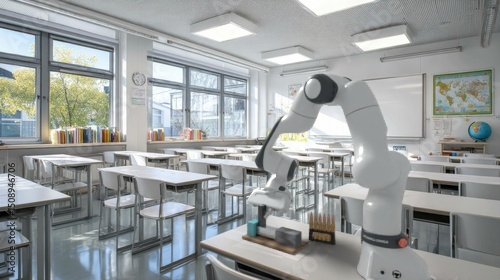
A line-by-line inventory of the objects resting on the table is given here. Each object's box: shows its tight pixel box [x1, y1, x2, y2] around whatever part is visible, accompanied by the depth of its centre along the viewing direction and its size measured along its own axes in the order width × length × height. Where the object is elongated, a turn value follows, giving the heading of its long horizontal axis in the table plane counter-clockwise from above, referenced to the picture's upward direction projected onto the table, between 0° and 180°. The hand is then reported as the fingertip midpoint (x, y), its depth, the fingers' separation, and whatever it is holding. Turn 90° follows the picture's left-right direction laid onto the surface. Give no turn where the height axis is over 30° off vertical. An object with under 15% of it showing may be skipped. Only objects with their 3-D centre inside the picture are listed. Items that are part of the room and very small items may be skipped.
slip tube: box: [256, 204, 279, 239], centre depth 122 cm, size 14×3×12 cm, turn 51°
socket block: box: [246, 217, 258, 237], centre depth 126 cm, size 4×7×6 cm, turn 141°
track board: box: [241, 226, 309, 255], centre depth 120 cm, size 24×12×6 cm, turn 50°
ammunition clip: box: [308, 211, 337, 246], centre depth 119 cm, size 11×2×12 cm, turn 64°
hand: (260, 217), depth 123 cm, fingers open, 2 cm apart
